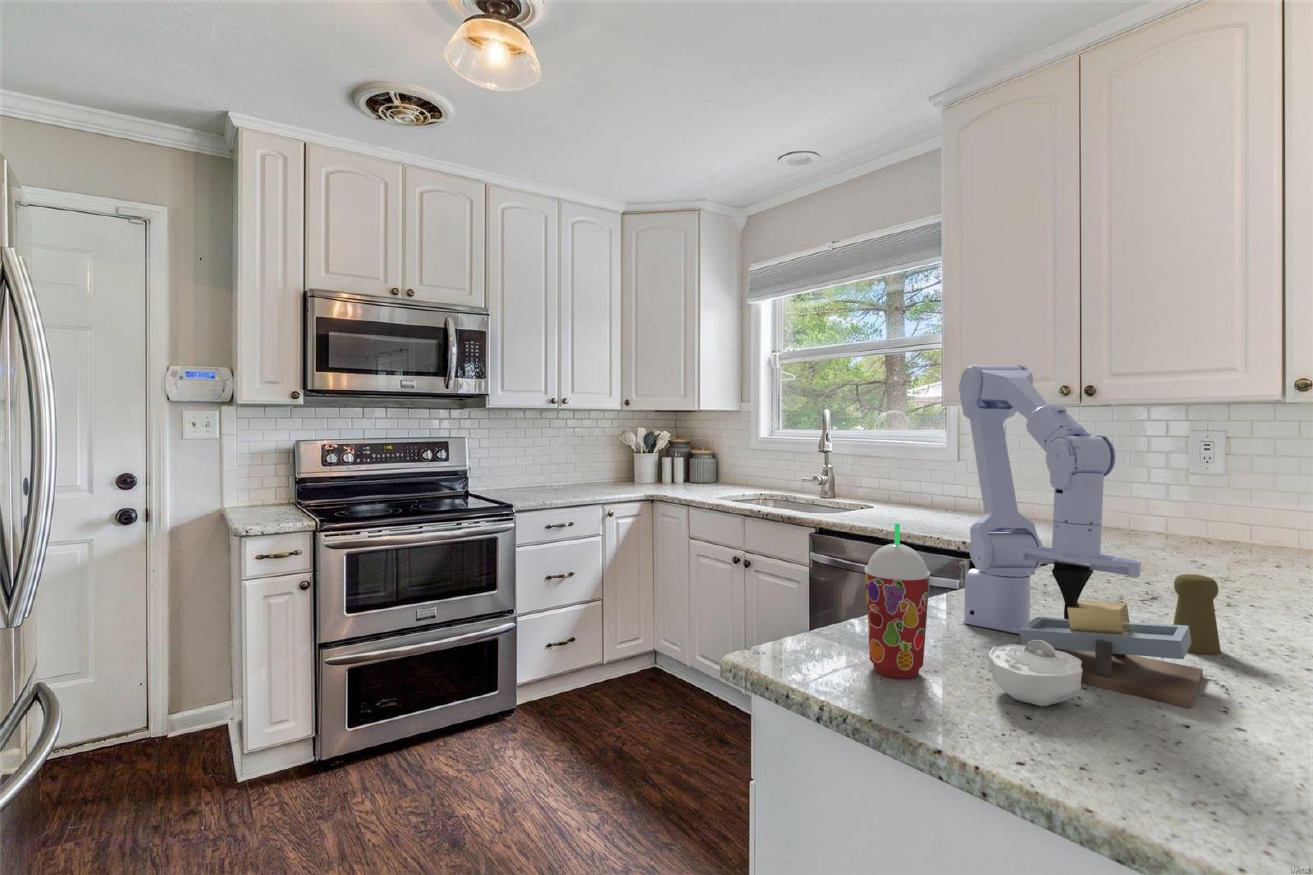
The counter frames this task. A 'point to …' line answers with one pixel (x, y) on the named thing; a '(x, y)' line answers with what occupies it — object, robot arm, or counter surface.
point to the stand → (1138, 675)
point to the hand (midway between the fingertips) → (1072, 619)
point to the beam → (1112, 638)
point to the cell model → (1036, 672)
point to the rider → (1099, 617)
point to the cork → (1198, 612)
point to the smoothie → (897, 609)
